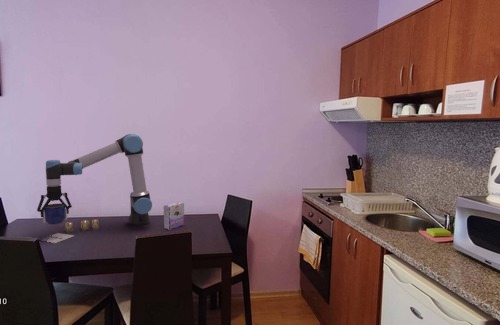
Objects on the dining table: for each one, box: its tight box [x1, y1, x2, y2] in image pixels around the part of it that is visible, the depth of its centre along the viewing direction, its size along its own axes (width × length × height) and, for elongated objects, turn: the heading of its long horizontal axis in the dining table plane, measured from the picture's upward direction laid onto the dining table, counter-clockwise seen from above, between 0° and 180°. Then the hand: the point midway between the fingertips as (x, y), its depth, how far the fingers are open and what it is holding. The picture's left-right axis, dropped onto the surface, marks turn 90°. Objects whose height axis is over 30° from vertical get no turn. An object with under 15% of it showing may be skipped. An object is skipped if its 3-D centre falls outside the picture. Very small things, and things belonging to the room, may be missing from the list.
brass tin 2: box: [80, 219, 89, 231], centre depth 217 cm, size 4×4×6 cm
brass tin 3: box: [91, 218, 99, 230], centre depth 219 cm, size 4×4×6 cm
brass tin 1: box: [65, 221, 74, 233], centre depth 212 cm, size 4×4×6 cm
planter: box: [44, 203, 66, 226], centre depth 197 cm, size 11×11×11 cm
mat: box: [46, 232, 75, 244], centre depth 199 cm, size 14×14×1 cm
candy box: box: [163, 201, 185, 231], centre depth 224 cm, size 14×6×16 cm, turn 145°
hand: (55, 220), depth 198 cm, fingers closed on planter, 11 cm apart
